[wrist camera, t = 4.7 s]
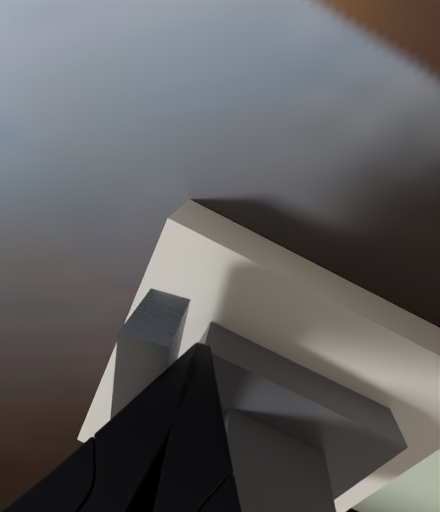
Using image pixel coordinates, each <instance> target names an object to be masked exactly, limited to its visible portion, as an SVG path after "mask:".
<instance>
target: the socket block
mask: <svg viewBox="0 0 440 512" xmlns="http://www.w3.org/2000/svg"><path fill="white" fill-rule="evenodd" d="M151 288H152V289H155V290H159V291H162V292H166V293H170V294H173V295H177V296H180V297H184V298H187V299H190V304H189V309H188V313H187V318H186V322H185V327H184V331H183V336H182V340H181V345H180V349H179V354H178V358H179V357H180V356H181V355H182V354H184V353H185V352H186V351H187V350H188V349H189V348H190V347H191V346H192V345H194V344H195V343H196V342H199V341H200V339H201V337H202V336H203V334H204V332H205V331H206V329H207V327H208V326H209V324H210V322H214V323H216V324H218V325H220V326H222V327H224V328H226V329H228V330H230V331H232V332H234V333H236V334H238V335H240V336H242V337H244V338H246V339H248V340H250V341H252V342H254V343H257V344H259V345H261V346H263V347H265V348H267V349H269V350H271V351H273V352H275V353H277V354H279V355H281V356H283V357H285V358H287V359H289V360H291V361H293V362H295V363H297V364H300V365H302V366H304V367H306V368H308V369H310V370H312V371H314V372H316V373H318V374H320V375H322V376H324V377H326V378H328V379H330V380H332V381H334V382H336V383H338V384H340V385H343V386H345V387H347V388H349V389H351V390H353V391H355V392H357V393H359V394H361V395H363V396H365V397H367V398H369V399H371V400H373V401H375V402H377V403H379V404H381V405H383V406H386V407H388V408H390V410H391V412H392V414H393V416H394V418H395V420H396V422H397V425H398V427H399V429H400V431H401V433H402V435H403V437H404V439H405V442H406V444H407V446H408V448H407V449H405V450H404V451H403V452H401V453H400V454H398V455H397V456H396V457H394V458H393V459H391V460H390V461H389V462H387V463H386V464H384V465H383V466H381V467H380V468H379V469H377V470H376V471H374V472H373V473H372V474H370V475H369V476H367V477H366V478H365V479H363V480H362V481H360V482H359V483H358V484H356V485H355V486H353V487H352V488H351V489H349V490H348V491H346V492H345V493H344V494H342V495H341V496H339V497H338V498H337V499H335V500H334V503H335V508H336V512H346V511H347V510H349V509H350V508H352V507H353V506H355V505H356V504H358V503H359V502H361V501H362V500H364V499H365V498H367V497H368V496H370V495H371V494H373V493H374V492H376V491H377V490H379V489H380V488H382V487H383V486H385V485H386V484H388V483H389V482H391V481H392V480H394V479H395V478H397V477H398V476H400V475H401V474H403V473H404V472H406V471H407V470H409V469H410V468H412V467H413V466H415V465H416V464H418V463H419V462H421V461H422V460H424V459H425V458H427V457H428V456H430V455H431V454H433V453H434V452H436V451H437V450H439V449H440V328H439V327H437V326H435V325H433V324H431V323H429V322H428V321H426V320H424V319H422V318H420V317H418V316H416V315H414V314H412V313H410V312H408V311H406V310H404V309H402V308H400V307H398V306H396V305H394V304H393V303H391V302H389V301H387V300H385V299H383V298H381V297H379V296H377V295H375V294H373V293H371V292H369V291H367V290H365V289H363V288H361V287H359V286H358V285H356V284H354V283H352V282H350V281H348V280H346V279H344V278H342V277H340V276H338V275H336V274H334V273H332V272H330V271H328V270H326V269H324V268H323V267H321V266H319V265H317V264H315V263H313V262H311V261H309V260H307V259H305V258H303V257H301V256H299V255H297V254H295V253H293V252H291V251H289V250H288V249H286V248H284V247H282V246H280V245H278V244H276V243H274V242H272V241H270V240H268V239H266V238H264V237H262V236H260V235H258V234H256V233H254V232H253V231H251V230H249V229H247V228H245V227H243V226H241V225H239V224H237V223H235V222H233V221H231V220H229V219H227V218H225V217H223V216H221V215H219V214H218V213H216V212H214V211H212V210H210V209H208V208H206V207H204V206H202V205H200V204H198V203H196V202H194V201H192V200H190V199H189V200H188V201H187V202H186V203H185V204H184V205H182V206H181V207H180V208H179V209H178V210H177V211H175V212H174V213H173V214H172V215H171V216H170V217H168V219H167V221H166V224H165V226H164V229H163V231H162V233H161V236H160V238H159V241H158V243H157V246H156V248H155V251H154V253H153V255H152V258H151V260H150V263H149V265H148V268H147V270H146V273H145V275H144V277H143V280H142V282H141V285H140V287H139V290H138V292H137V294H136V297H135V299H134V302H133V304H132V307H131V309H130V312H129V314H128V316H127V319H126V321H127V320H128V319H129V317H130V316H131V315H132V313H133V312H134V310H135V309H136V308H137V306H138V305H139V304H140V302H141V301H142V300H143V298H144V297H145V296H146V294H147V293H148V292H149V290H150V289H151ZM126 321H125V323H126ZM116 348H117V343H116V346H115V348H114V351H113V353H112V356H111V358H110V360H109V363H108V365H107V368H106V370H105V373H104V375H103V378H102V380H101V382H100V385H99V387H98V390H97V392H96V395H95V397H94V399H93V402H92V404H91V407H90V409H89V412H88V414H87V417H86V419H85V421H84V424H83V426H82V429H81V431H80V434H79V436H78V439H77V440H80V441H82V442H84V443H85V442H86V441H87V440H88V439H89V438H90V437H94V435H95V433H96V432H97V431H98V430H99V429H100V428H102V427H103V426H104V425H105V424H106V423H107V422H108V421H109V420H110V416H111V404H112V393H113V382H114V371H115V360H116Z"/></svg>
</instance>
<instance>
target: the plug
mask: <svg viewBox="0 0 440 512" xmlns="http://www.w3.org/2000/svg"><path fill="white" fill-rule="evenodd" d="M199 342H200V343H204V344H209V345H210V347H211V351H212V357H213V362H214V368H215V373H216V378H217V384H218V389H219V394H220V400H221V405H222V411H223V416H224V421H225V427H226V432H227V437H228V443H229V448H230V454H231V459H232V464H233V470H234V473H233V475H234V476H235V479H236V485H237V490H238V495H239V500H240V505H241V510H242V512H336V508H335V503H334V500H335V499H337V498H338V497H339V496H341V495H342V494H344V493H345V492H346V491H348V490H349V489H351V488H352V487H353V486H355V485H356V484H358V483H359V482H360V481H362V480H363V479H365V478H366V477H367V476H369V475H370V474H372V473H373V472H374V471H376V470H377V469H379V468H380V467H381V466H383V465H384V464H386V463H387V462H389V461H390V460H391V459H393V458H394V457H396V456H397V455H398V454H400V453H401V452H403V451H404V450H405V449H407V448H408V446H407V444H406V442H405V439H404V437H403V435H402V433H401V431H400V429H399V427H398V425H397V422H396V420H395V418H394V416H393V414H392V412H391V410H390V408H388V407H386V406H383V405H381V404H379V403H377V402H375V401H373V400H371V399H369V398H367V397H365V396H363V395H361V394H359V393H357V392H355V391H353V390H351V389H349V388H347V387H345V386H343V385H340V384H338V383H336V382H334V381H332V380H330V379H328V378H326V377H324V376H322V375H320V374H318V373H316V372H314V371H312V370H310V369H308V368H306V367H304V366H302V365H300V364H297V363H295V362H293V361H291V360H289V359H287V358H285V357H283V356H281V355H279V354H277V353H275V352H273V351H271V350H269V349H267V348H265V347H263V346H261V345H259V344H257V343H254V342H252V341H250V340H248V339H246V338H244V337H242V336H240V335H238V334H236V333H234V332H232V331H230V330H228V329H226V328H224V327H222V326H220V325H218V324H216V323H214V322H210V324H209V326H208V327H207V329H206V331H205V332H204V334H203V336H202V337H201V339H200V341H199Z"/></svg>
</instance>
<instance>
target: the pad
mask: <svg viewBox="0 0 440 512" xmlns="http://www.w3.org/2000/svg"><path fill="white" fill-rule="evenodd" d="M352 509H354V510H357V511H359V512H440V449H439V450H437V451H436V452H434V453H433V454H431V455H430V456H428V457H427V458H425V459H424V460H422V461H421V462H419V463H418V464H416V465H415V466H413V467H412V468H410V469H409V470H407V471H406V472H404V473H403V474H401V475H400V476H398V477H397V478H395V479H394V480H392V481H391V482H389V483H388V484H386V485H385V486H383V487H382V488H380V489H379V490H377V491H376V492H374V493H373V494H371V495H370V496H368V497H367V498H365V499H364V500H362V501H361V502H359V503H358V504H356V505H355V506H353V507H352Z"/></svg>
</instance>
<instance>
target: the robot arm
mask: <svg viewBox="0 0 440 512" xmlns="http://www.w3.org/2000/svg"><path fill="white" fill-rule="evenodd" d="M233 473H234V470H233V464H232V459H231V454H230V448H229V443H228V437H227V432H226V427H225V421H224V416H223V411H222V405H221V400H220V394H219V389H218V384H217V378H216V373H215V368H214V362H213V357H212V351H211V347H210V345H209V344H204V343H200V342H196V343H195V344H194V345H192V346H191V347H190V348H189V349H188V350H187V351H186V352H185V353H184V354H182V355H181V356H180V357H179V358H178V359H177V360H176V361H175V362H174V363H172V364H171V365H170V366H169V367H168V368H167V369H166V370H165V371H164V372H162V373H161V374H160V375H159V376H158V377H157V378H156V379H155V380H154V381H153V382H151V383H150V384H149V385H148V386H147V387H146V388H145V389H144V390H143V391H141V392H140V393H139V394H138V395H137V396H136V397H135V398H134V399H133V400H131V401H130V402H129V403H128V404H127V405H126V406H125V407H124V408H123V409H122V410H120V411H119V412H118V413H117V414H116V415H115V416H114V417H113V418H112V419H110V420H109V421H108V422H107V423H106V424H105V425H104V426H103V427H102V428H100V429H99V430H98V431H97V432H96V433H95V435H94V437H90V438H89V439H88V440H87V441H86V442H85V443H84V444H83V445H81V446H80V447H79V448H78V449H77V450H76V451H75V452H74V453H73V454H71V455H70V456H69V457H68V458H67V459H66V460H64V461H63V462H62V463H61V464H60V465H59V466H57V467H56V468H55V469H54V470H53V471H52V472H50V473H49V474H48V475H47V476H46V477H44V478H43V479H42V480H41V481H39V482H38V483H37V484H36V485H34V486H33V487H32V488H30V489H29V490H28V491H27V492H25V493H24V494H23V495H22V496H20V497H19V498H18V499H17V500H15V501H14V502H13V503H11V504H10V505H9V506H7V507H6V508H5V509H4V510H2V511H1V512H242V510H241V505H240V500H239V495H238V490H237V485H236V479H235V476H234V475H233Z"/></svg>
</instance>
